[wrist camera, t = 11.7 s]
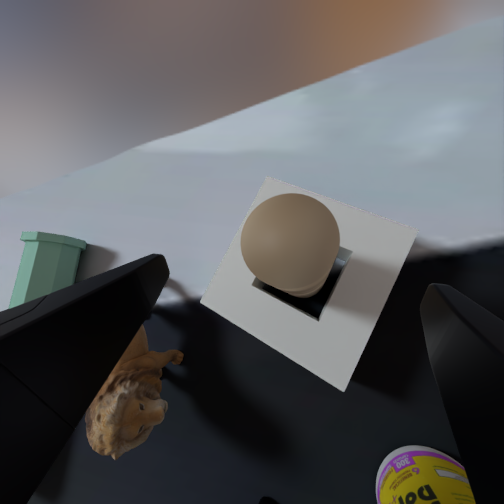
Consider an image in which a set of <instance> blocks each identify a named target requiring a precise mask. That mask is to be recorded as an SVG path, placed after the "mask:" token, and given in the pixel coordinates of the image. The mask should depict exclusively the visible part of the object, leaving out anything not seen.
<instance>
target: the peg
mask: <svg viewBox="0 0 504 504" xmlns="http://www.w3.org/2000/svg"><path fill="white" fill-rule="evenodd" d="M240 244H241V252H242V256H243V259H244V261H245V263H246V265H247V267H248V268H249V270H250V271H251V272H252V273H253V274H254V275H255V276H256V277H257V278H258V279H259V280H261V281H263V282H264V283H266V284H268V285H271V286H273V287H275V288H277V289H279V290H282V291H284V292H286V293H288V294H290V295H293V296H295V297H298V298H308V297H312V296H314V295H316V294H317V293H318V292H319V291H320V290H321V289H322V287H323V285H324V283H325V281H326V279H327V277H328V274H329V272H330V270H331V268H332V266H333V263H334V261H335V259H336V257H337V254H338V250H339V245H340V233H339V228H338V225H337V222H336V220H335V218H334V216H333V214H332V213H331V212H330V210H329V209H328V208H327V207H326V206H325V205H324V204H322V203H321V202H320V201H318V200H316V199H315V198H312V197H310V196H307V195H304V194H297V193H287V194H281V195H277V196H274V197H271V198H269V199H267V200H265V201H264V202H262V203H261V204H260V205H258V206H257V207H256V208H255V209H254V210H253V211H252V212H251V214H250V215H249V216H248V218H247V220H246V222H245V224H244V226H243V229H242V233H241V242H240Z"/></svg>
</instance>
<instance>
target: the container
mask: <svg viewBox="0 0 504 504" xmlns="http://www.w3.org/2000/svg"><path fill="white" fill-rule="evenodd" d="M20 240H22V241H24V242H26V243H25V247H24V251H23V255H22V258H21V262H20V266H19V270H18V274H17V278H16V282H15V285H14V289H13V293H12V297H11V301H10V305H9V308H8V309H10V308H13V307H15V306H18V305H21V304H23V303H26V302H29V301H31V300H34V299H37V298H39V297H42V296H44V295H47V294H48V295H49V294H50V293H52V292H55V291H57V290H60V289H63V288H65V287H68V286H70V285H73V284H74V282H75V277H76V273H77V268H78V263H79V259H80V254H81V250H85V249H86V245H87V243H86V242H85V241H83V240H80V239H76V238H72V237H68V236H64V235H57V234H50V233H44V232H22V235H21V238H20Z"/></svg>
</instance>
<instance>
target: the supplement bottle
mask: <svg viewBox="0 0 504 504" xmlns="http://www.w3.org/2000/svg"><path fill="white" fill-rule="evenodd" d="M376 497H377V503H378V504H476V503H475V500H474V497H473V494H472V491H471V488H470V484H469V481H468V478H467V475H466V472H465V469H464V467H463V466H462V465H461V464H460V463H458V462H457V461H456V460H454V459H453V458H451V457H450V456H448V455H446V454H444V453H442V452H440V451H438V450H435V449H432V448H429V447H425V446H417V445H411V446H405V447H401V448H399V449H396V450H394V451H393V452H391V453H390V454H389V455H388V456H387V457H386V458H385V459H384V461H383V462H382V464H381V466H380V468H379V471H378V474H377V478H376Z"/></svg>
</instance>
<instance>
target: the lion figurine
mask: <svg viewBox="0 0 504 504" xmlns="http://www.w3.org/2000/svg"><path fill="white" fill-rule="evenodd" d="M183 356H184V354H183V353H182V352H180V351H178V350H168V351H166V352H155V351H150V352H148V342H147V336H146V333H145V329H144V327H143V324H142V326H141V327H140V329H139V330H138V332H137V334H136V335H135V337H134V338H133V340H132V341H131V343H130V344H129V346H128V347H127V349H126V351H125V352H124V354H123V355H122V357H121V358H120V360H119V361H118V363H117V364H116V366H115V368H114V369H113V371H112V372H111V374H110V375H109V377H108V378H107V380H106V381H105V383H104V385H103V386H102V388H101V389H100V391H99V392H98V394H97V395H96V397H95V398H94V400H93V402H92V403H91V405H90V406H89V408H88V409H87V411H86V417H85V421H86V423H87V425H86V431H87V437H88V441H89V444H90V446H91V447H92V448H93V450H94V451H96V452H97V453H99V454H101V455H111V456H112V457H113V459H114V460H117V459H118V457H120V456H121V455H122V454H123V453H124V452H126V451H129V450H130V449H133V448H135V447H137V446H138V445H139V444H141V443H143V442H145V441H146V439H147V437H148V436H149V434H150V432H151V431H152V429H153V425H157V424H160V423H161V422H162V421H163V419H164V413H165V412H166V411H167V407H168V405H167V402H166V401H165V400H162V399H161V398H160V395H159V393H160V392H161V389H162V386H161V380H160V379H159V378H160V377H161V376H162V369H161V368H163V367H164V366H165V365H166V364H167V363H168V362H169V361H171V362H172V363H173V364H180V363H181V361H182V360H183Z"/></svg>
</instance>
